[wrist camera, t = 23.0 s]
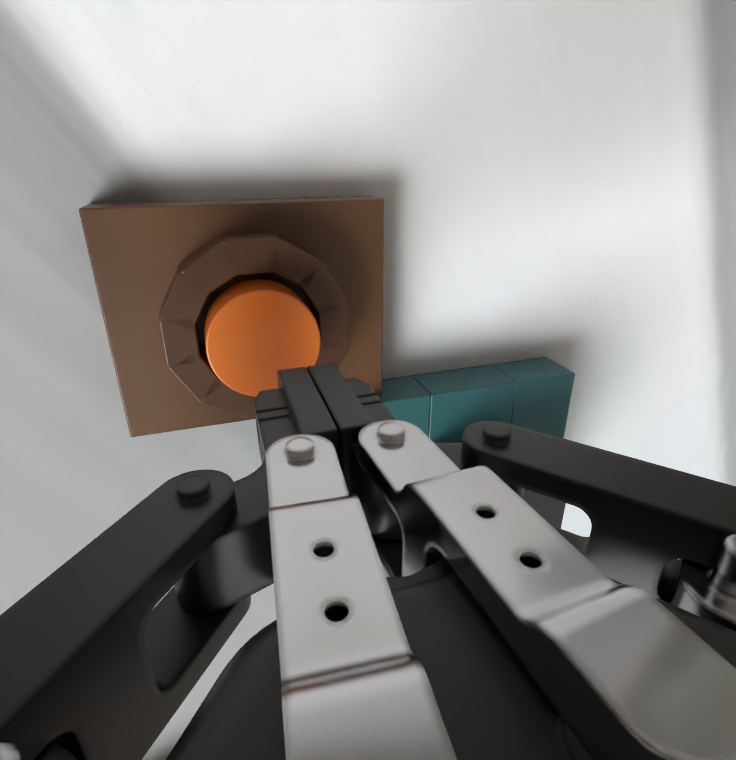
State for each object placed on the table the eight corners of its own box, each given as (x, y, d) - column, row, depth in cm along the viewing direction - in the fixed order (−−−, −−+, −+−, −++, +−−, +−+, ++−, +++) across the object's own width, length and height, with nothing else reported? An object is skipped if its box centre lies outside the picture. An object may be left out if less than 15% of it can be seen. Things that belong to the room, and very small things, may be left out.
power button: (211, 385, 19) (213, 404, 18) (197, 282, 18) (197, 294, 16) (313, 372, 21) (323, 390, 19) (308, 275, 19) (318, 285, 17)
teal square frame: (350, 563, 30) (362, 594, 27) (346, 384, 25) (360, 405, 23) (521, 522, 33) (543, 547, 31) (546, 356, 28) (575, 373, 26)
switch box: (134, 418, 22) (125, 461, 19) (86, 203, 18) (66, 213, 15) (371, 385, 25) (395, 418, 22) (371, 195, 22) (400, 202, 19)
